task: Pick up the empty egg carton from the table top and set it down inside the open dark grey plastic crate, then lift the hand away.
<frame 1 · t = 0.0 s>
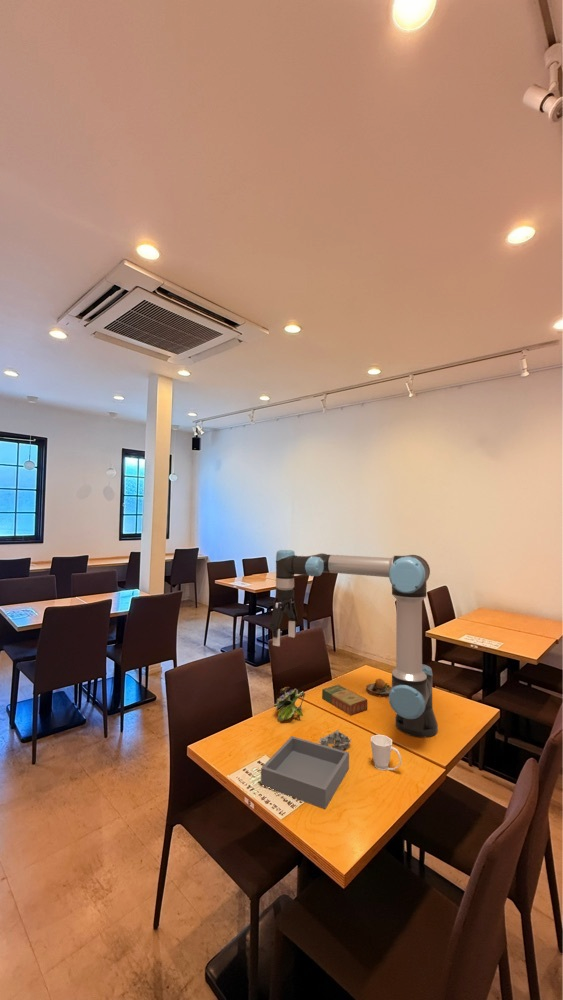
hand: (284, 641, 166), 28 cm above the table, tool pointing down, fingers open, 13 cm apart
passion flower: (290, 716, 161), on the table
cup: (385, 768, 128), on the table
egg carton: (334, 749, 139), on the table
carton: (344, 705, 172), on the table
crate: (306, 777, 123), on the table
brown food dish: (379, 692, 185), on the table
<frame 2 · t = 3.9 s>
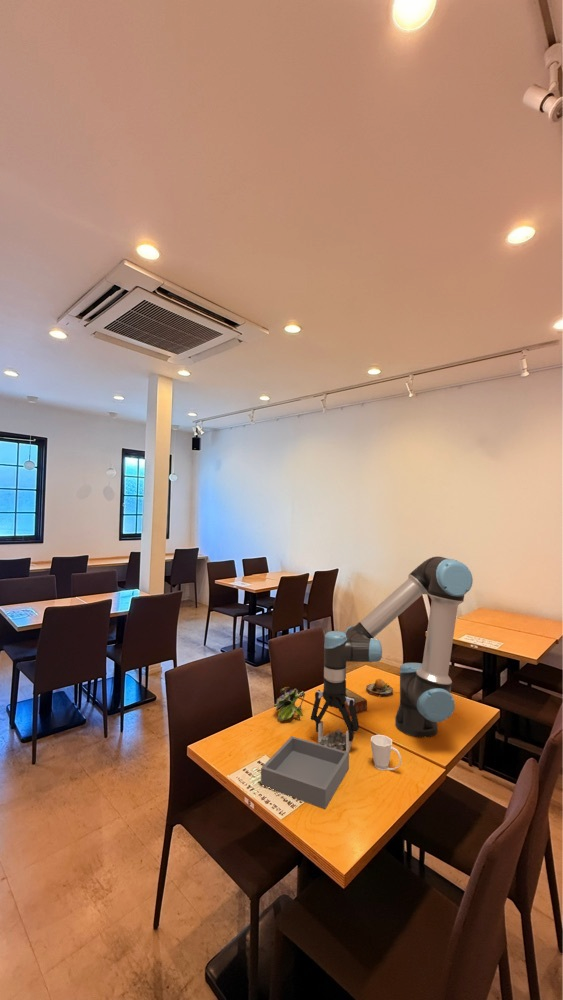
hand: (334, 745, 139), 1 cm above the table, tool pointing down, fingers closed on egg carton, 9 cm apart
egg carton: (334, 748, 139), on the table, touching gripper
everything else where it was.
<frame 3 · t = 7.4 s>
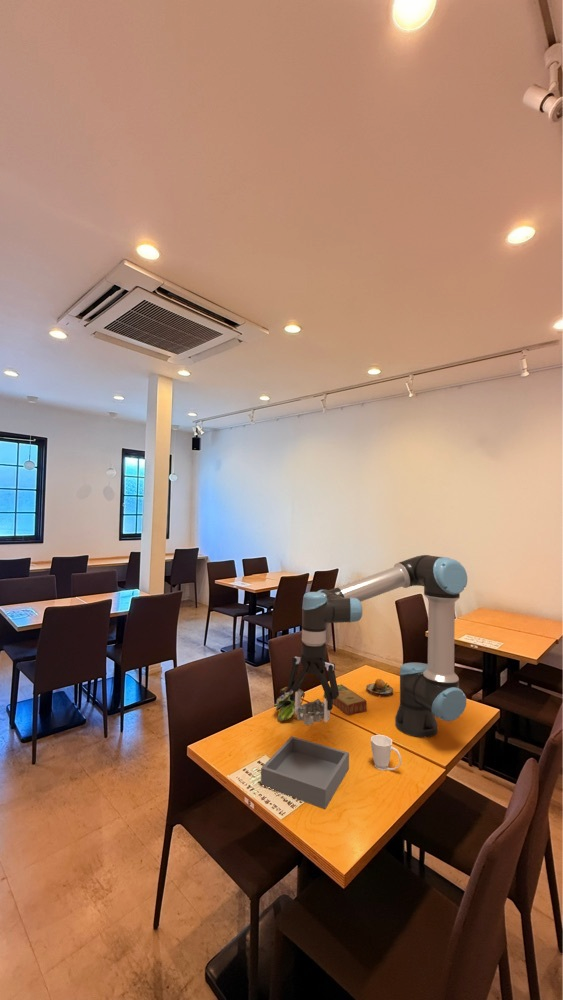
hand: (312, 715, 127), 16 cm above the table, tool pointing down, fingers closed on egg carton, 9 cm apart
egg carton: (312, 718, 128), point 15 cm above the table, touching gripper
everything else where it was.
when the fingers open (3 cm above the table, at t = 11.0 s): egg carton drops 1 cm, resting on crate.
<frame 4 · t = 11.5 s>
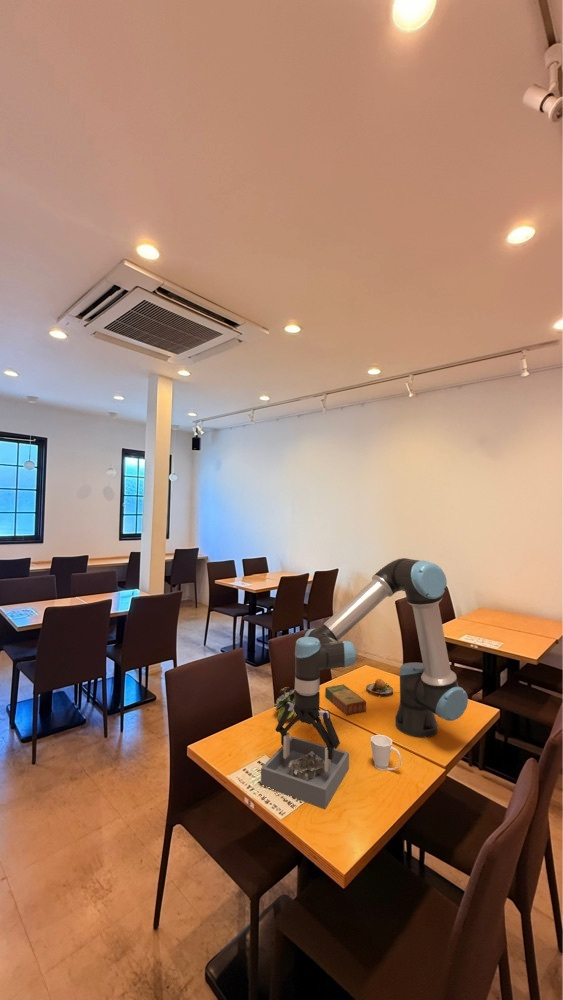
hand: (306, 762, 123), 4 cm above the table, tool pointing down, fingers open, 13 cm apart
egg carton: (307, 773, 123), point 1 cm above the table, touching crate
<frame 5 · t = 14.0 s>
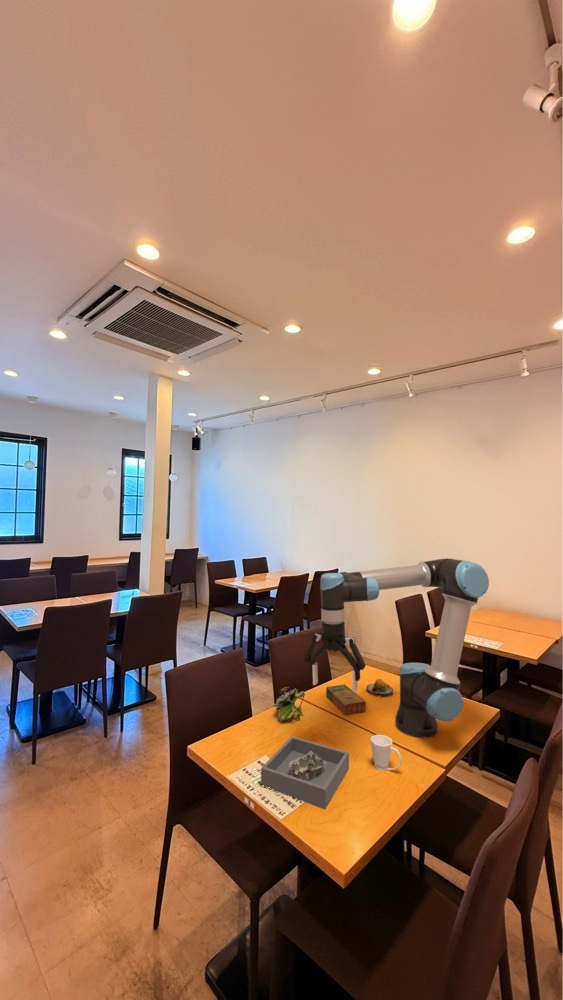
hand: (334, 687, 133), 23 cm above the table, tool pointing down, fingers open, 13 cm apart
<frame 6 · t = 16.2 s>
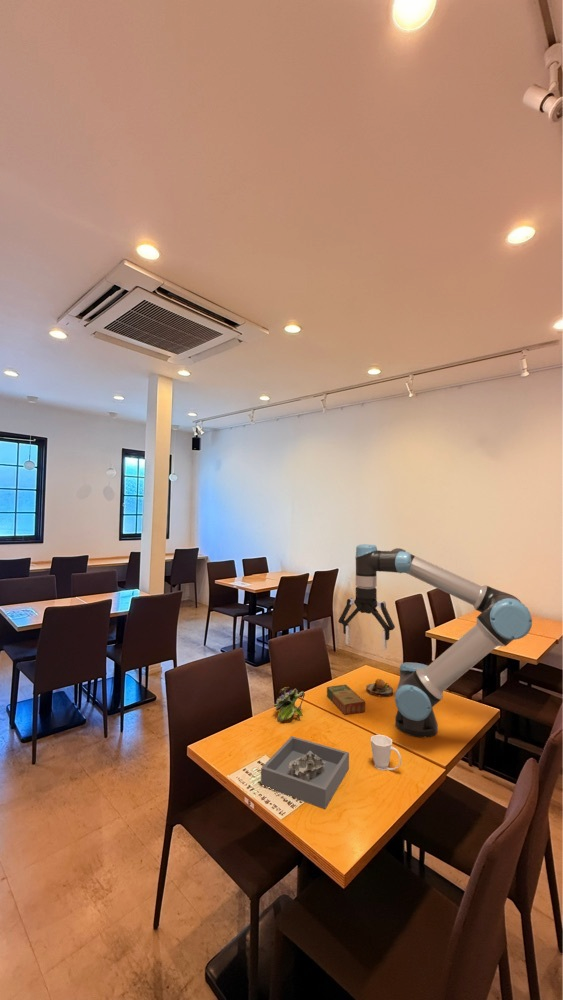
hand: (365, 646, 148), 32 cm above the table, tool pointing down, fingers open, 13 cm apart
at the end: egg carton inside the target area on the crate (0.4 cm from its centre), point 0.8 cm above the crate's base; the gripper is holding nothing; egg carton tilted 2° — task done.
